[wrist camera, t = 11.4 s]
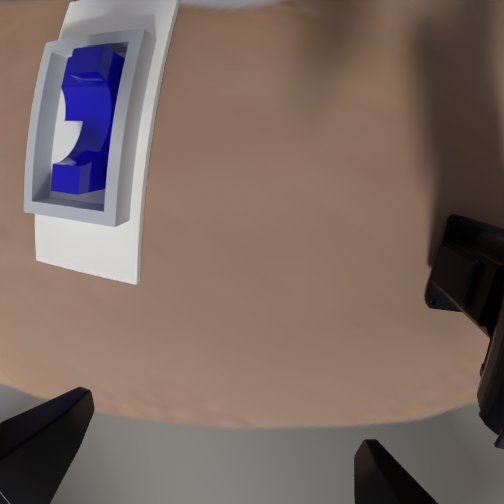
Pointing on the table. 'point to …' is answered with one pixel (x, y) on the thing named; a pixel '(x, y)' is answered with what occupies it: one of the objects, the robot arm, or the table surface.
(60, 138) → the desk organizer
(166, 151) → the table surface
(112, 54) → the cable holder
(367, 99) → the table surface
